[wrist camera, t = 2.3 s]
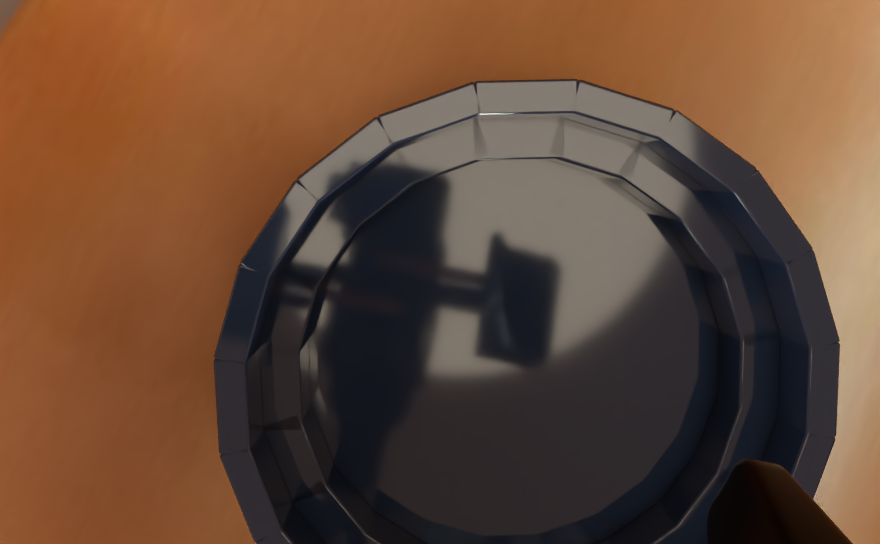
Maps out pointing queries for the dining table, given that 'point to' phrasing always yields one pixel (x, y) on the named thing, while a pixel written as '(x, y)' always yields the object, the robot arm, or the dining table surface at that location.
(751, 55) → the dining table surface
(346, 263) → the bowl
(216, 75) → the dining table surface
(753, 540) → the robot arm
